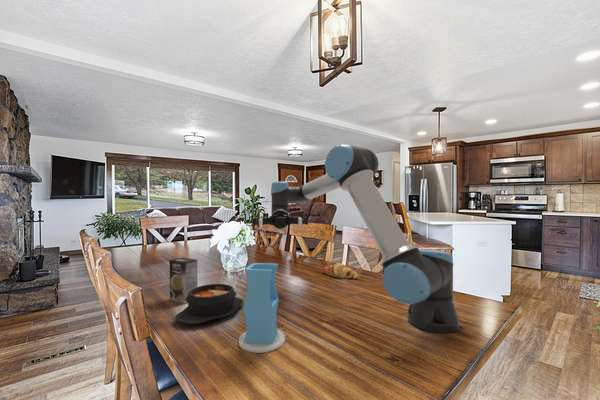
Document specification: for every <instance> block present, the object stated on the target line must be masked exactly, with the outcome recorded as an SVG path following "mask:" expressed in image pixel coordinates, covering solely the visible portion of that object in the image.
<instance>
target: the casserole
mask: <svg viewBox="0 0 600 400" xmlns="http://www.w3.org/2000/svg"><path fill="white" fill-rule="evenodd" d="M185 300H186V302H187V305H188V306H186V307H185V308H184V309H183V310H182V311H180V312H178V313H177V314H176V315H175V316H174V319H175V320H176V321H177V322H180V323H183V324H190V325H199V324H204V323H206V322H208V321H209V322H210V321H213V320H218V319H221V318H225V317H228V316H230V315H232V314H233V313H235V312H236V311H237V310H238V309H239V308H240V306H241V305H242V304H244V303H245V301H244V300H243V298H240V297H237V292H236V291H235V288H234V287H233V286H232V285H229V284H227V283H225V284H224V283H211V284H210V283H209V284H204V285H200V286H197V287H196V288H194V289H192V290H190V291H189V293H188V296H187V297H186V299H185Z"/></svg>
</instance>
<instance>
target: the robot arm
mask: <svg viewBox="0 0 600 400" xmlns="http://www.w3.org/2000/svg"><path fill="white" fill-rule="evenodd" d="M326 154H327V155H326V157H325V161H324V169H325V173H326V174H324V175H322V176H320V177H317V178H315V179H313V180H310V181H309V182H306V183H305V184H302V185H300V186H289V182H287V181H273V182H272V183H271V187H270V188H271V189H270V193H271V194H270V196H271V211H270V212H271V215H269V216H265V215H264V216H261V217H252V219H251V220H252V221H251V222H252V223H251V224H252V226H256V228H262V227H263V226H264V225H270V226H273V227H274V228H276V229H279V230H280V229H282V230H283V229H284V228H286V227H287V226H290V225H298V227H300V228H301V227H303V225H309V217H308V216H305V217H304V215H300V216H297V215H295V216H292V215H290V214H289V204H298V203H299V204H300V203H301V204H305V203H311V202H312V201H313V199H314V198H317V197H319V196H322V195H324V194H327V193H331V192H333V191H335V190H338V189H340V188H341V189H342V191H346V192H348V193H349V196H350V197H351V199H352V201H353V203H354V205H355V206H356V208H357V210H358V212H359V214H360V216H361V218H362V219H363V222H364V224H365V225H366V227H367V229H368V231H369V232H370V235H371V237H372V238H373V241H374V242H375V244H376V246H377V248H378V250H379V252H380V255H382V259H381V267H382V269H383V270H384V271H383V277H382V284H383V286H384V288H385V291H386V292H387V294H389V296H390V297H391V298H393V299H394V300H395V301H397V302H399V303H402V304H404V305H409V306H408V308H407V311H406V312H407V313H406V314H407V317H406V319H407V321H408V323H410V325H412V326H414V327H415V328H418V329H422V330H424V331H428V332H432V333H438V334H439V333H441V334H446V333H447V334H448V333H454V332H457V331H458V330H460V318H459V314H458V311H457V309H456V305H455V303H454V261H453V255H452V254H451V253H450V252H447V251H442V250H431V249H423V248H422V249H421V248H419V247H418V246H417V245H413V244H410V242H409V241H408V240H407V238H406V236H405V234H404V232H403V231H402V229H401V227H400V225H399V223H398V222H397V220H396V219H395V217H394V216H393V213H392V212H391V209H390V208H389V207H388V204H387V203H386V201H385V200H384V197H383V196H382V195H381V192H380V191H379V189H378V187H377V185H376V183H375V182H374V180H373V178H374V176H375V175H376V174H377V172H378V169H379V165H380V163H379V159H378V157H377V155H376V154H375V153H374V151H372V150H370V149H368V148H365V147H359V146H354V145H350V144H338V145H334V146H333V147H332V148H330V150H328V153H326Z"/></svg>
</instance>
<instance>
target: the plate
mask: <svg viewBox="0 0 600 400" xmlns="http://www.w3.org/2000/svg"><path fill="white" fill-rule="evenodd" d="M277 331H278V334H277V336H276V338H275V340H274V342H273V343H272V344H270V345H263V344H250V343H244V340H245V336H246V331H244V332H243V333H241V334H240V335H239V337H238V346H239V347H240V348H241V349H242V350H243V351H246V352H249V353H255V354H262V353H269V352H274V351H275V350H278V349H280V348H281V347H282V346H283V345H284V344H285V342H286V334H285V332H283V331H282V330H281V329H279V328H277Z"/></svg>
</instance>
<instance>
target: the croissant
mask: <svg viewBox="0 0 600 400" xmlns="http://www.w3.org/2000/svg"><path fill="white" fill-rule="evenodd" d="M321 270H322V272H324V273H325V274H326V275H327V276H329V277H332V278H337V279H353V280H354V279H355V280H357V279H358V278H359V277H360V276H359V274H358V273H357V271H355V270H353V269H352V268H351V267H350V266H346V265H345V264H343V263H341V262H336V263H334V264H331V265H329V266H324V267H323V266H322V267H321Z"/></svg>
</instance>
